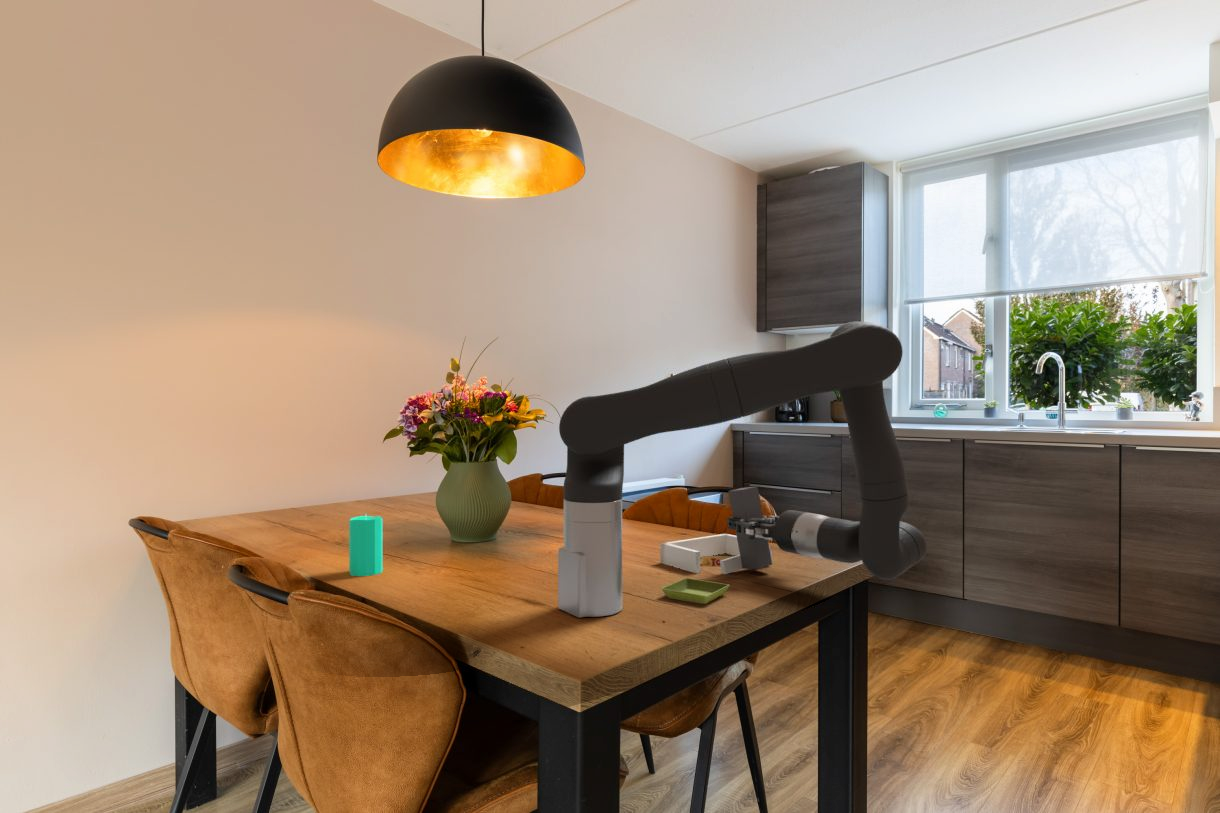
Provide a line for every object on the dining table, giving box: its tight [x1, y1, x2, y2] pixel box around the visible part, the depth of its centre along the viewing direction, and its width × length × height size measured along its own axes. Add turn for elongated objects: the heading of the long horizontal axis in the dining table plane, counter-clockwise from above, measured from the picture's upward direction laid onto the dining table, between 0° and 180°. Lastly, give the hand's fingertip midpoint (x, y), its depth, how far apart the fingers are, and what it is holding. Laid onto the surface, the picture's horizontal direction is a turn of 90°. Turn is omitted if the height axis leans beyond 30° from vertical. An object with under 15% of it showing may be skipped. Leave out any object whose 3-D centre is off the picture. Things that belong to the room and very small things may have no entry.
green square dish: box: [660, 577, 730, 605], centre depth 115 cm, size 9×9×2 cm
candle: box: [348, 514, 384, 577], centre depth 132 cm, size 6×6×12 cm
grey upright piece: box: [720, 486, 774, 575], centre depth 133 cm, size 13×5×15 cm, turn 125°
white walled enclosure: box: [660, 533, 740, 574], centre depth 141 cm, size 18×10×4 cm, turn 125°
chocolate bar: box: [701, 555, 734, 567], centre depth 138 cm, size 3×12×2 cm, turn 86°
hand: (737, 521), depth 135 cm, fingers closed on grey upright piece, 4 cm apart
